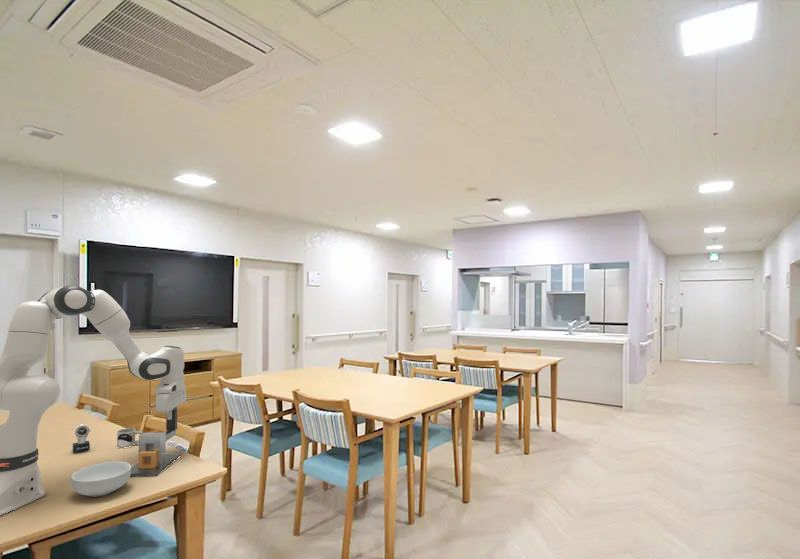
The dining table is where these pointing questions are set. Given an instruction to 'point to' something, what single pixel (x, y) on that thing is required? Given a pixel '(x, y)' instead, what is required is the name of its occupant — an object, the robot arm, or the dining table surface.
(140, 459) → the orange flat block
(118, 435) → the mug
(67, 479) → the dining table surface
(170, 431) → the dark angled piece
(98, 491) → the cereal bowl
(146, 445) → the stand
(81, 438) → the watch
